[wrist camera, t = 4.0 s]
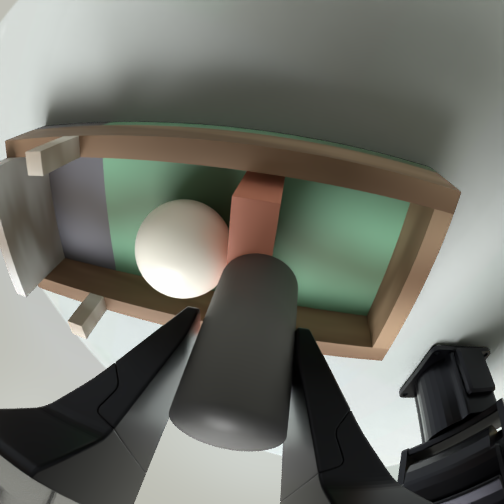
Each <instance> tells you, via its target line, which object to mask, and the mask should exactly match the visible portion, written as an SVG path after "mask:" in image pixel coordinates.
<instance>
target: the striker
mask: <svg viewBox="0 0 504 504" xmlns="http://www.w3.org/2000/svg"><path fill="white" fill-rule="evenodd" d="M284 180H285V177H284V176H278V175H271V174H265V173H258V172H251V171H247V172H246V173H245V175H244V177H243V178H242V180H241V182H240V183H239V185H238V187H237V188H236V190H235V192H234V194H233V195H232V201H231V214H230V226H229V240H228V253H227V265H226V267H225V268H224V270H223V272H222V274H221V277H220V279H219V282H218V284H217V287H216V289H215V292H214V294H213V297H212V300H211V302H210V305H209V307H208V310H207V312H206V315H205V317H204V320H203V323H202V325H201V328H200V330H199V333H198V335H197V338H196V341H195V343H194V346H193V348H192V351H191V354H190V356H189V359H188V362H187V364H186V367H185V370H184V372H183V375H182V377H181V380H180V383H179V385H178V388H177V391H176V393H175V396H174V399H173V402H172V404H171V407H170V410H169V417H170V420H171V421H172V422H173V424H174V425H175V426H176V427H177V428H178V429H179V430H181V431H182V432H184V433H185V434H187V435H189V436H190V437H192V438H194V439H196V440H198V441H201V442H203V443H206V444H209V445H212V446H215V447H219V448H224V449H229V450H236V451H262V450H268V449H272V448H275V447H277V446H279V445H281V444H282V443H283V442H284V441H285V440H286V438H287V430H288V420H289V410H290V399H291V388H292V376H293V361H294V347H295V331H296V318H297V299H298V283H297V279H296V276H295V274H294V273H293V271H292V270H291V268H290V267H289V266H288V265H286V264H285V263H284V262H283V261H281V260H279V259H277V258H275V257H273V256H272V255H273V249H274V243H275V237H276V231H277V225H278V219H279V212H280V206H281V200H282V193H283V187H284Z"/></svg>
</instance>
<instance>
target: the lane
mask: <svg viewBox="0 0 504 504" xmlns="http://www.w3.org/2000/svg"><path fill="white" fill-rule="evenodd" d="M5 144H6V153H7V158H6V159H4V160H2V161H0V248H1V251H2V255H3V257H4V260H5V263H6V266H7V269H8V272H9V274H10V277H11V280H12V282H13V285H14V287H15V290H16V292H17V294H20V295H22V296H25V297H27V296H28V295H29V294H30V293H31V292H32V291H33V290H34V289H35V287H36V286H37V285H38V286H39V287H40V288H42V289H45V290H48V291H51V292H54V293H57V294H60V295H63V296H65V297H68V298H72V299H75V300H78V301H81V302H82V303H81V305H80V306H79V307H78V308H77V310H76V311H75V312H74V313H73V315H72V316H71V317H70V319H69V320H68V323H69V326H70V328H71V330H72V333H73V334H75V335H77V336H80V337H83V338H85V339H87V337H88V336H89V334H90V333H91V332H92V330H93V329H94V327H95V326H96V324H97V323H98V321H99V320H100V319H101V317H102V316H103V314H104V313H105V311H106V310H110V311H114V312H117V313H120V314H124V315H128V316H131V317H135V318H139V319H142V320H146V321H150V322H154V323H158V324H162V325H164V324H166V323H167V322H168V321H169V320H171V319H172V318H173V317H175V316H176V315H177V314H178V313H180V312H181V311H182V310H184V309H185V308H186V307H188V306H190V307H195V308H199V309H200V328H201V325H202V323H203V320H204V317H205V315H206V312H207V310H208V307H209V305H210V302H211V300H212V297H213V294H214V292H215V289H216V287H217V286H216V287H215V288H213V289H212V290H210V291H209V292H207V293H205V294H203V295H201V296H197V297H193V298H184V299H181V298H174V297H170V296H167V295H165V294H162V293H160V292H159V291H157V290H155V289H154V288H153V287H152V286H151V285H150V284H149V283H148V282H147V281H146V280H145V279H144V277H143V276H142V274H141V272H140V270H139V268H138V266H137V262H136V258H135V240H136V236H137V232H138V230H139V228H140V226H141V224H142V222H143V221H144V219H145V218H146V217H147V216H148V214H149V213H151V212H152V211H153V210H154V209H156V208H157V207H159V206H160V205H162V204H164V203H166V202H170V201H173V200H179V199H188V200H195V201H198V202H201V203H204V204H206V205H207V206H209V207H211V208H212V209H213V210H215V211H216V212H217V213H218V214H219V215H220V216H221V217H222V218H223V220H224V221H225V223H226V225H227V227H228V229H229V226H230V214H231V201H232V195H233V194H234V192H235V190H236V188H237V187H238V185H239V183H240V182H241V180H242V178H243V177H244V175H245V173H246V172H247V171H251V172H258V173H265V174H271V175H278V176H284V177H285V180H284V187H283V193H282V200H281V206H280V212H279V219H278V225H277V231H276V237H275V243H274V249H273V255H272V256H273V257H275V258H277V259H279V260H281V261H283V262H284V263H285V264H286V265H288V266H289V267H290V268H291V270H292V271H293V273H294V274H295V276H296V279H297V283H298V299H297V318H296V329H297V328H298V327H301V328H307V329H309V330H310V331H311V333H312V335H313V337H314V339H315V341H316V342H317V344H318V346H319V348H320V350H321V352H322V354H323V355H331V356H339V357H348V358H358V359H369V360H381V361H382V360H383V358H384V356H385V355H386V353H387V351H388V350H389V348H390V347H391V345H392V343H393V341H394V340H395V338H396V336H397V335H398V333H399V331H400V329H401V328H402V326H403V324H404V322H405V320H406V319H407V317H408V315H409V313H410V311H411V309H412V307H413V305H414V303H415V302H416V300H417V298H418V296H419V294H420V292H421V290H422V288H423V285H424V283H425V281H426V279H427V277H428V275H429V273H430V271H431V268H432V266H433V264H434V262H435V259H436V257H437V255H438V253H439V250H440V248H441V245H442V243H443V240H444V238H445V236H446V233H447V230H448V228H449V225H450V223H451V220H452V217H453V214H454V212H455V209H456V206H457V203H458V200H459V197H460V194H461V192H460V191H459V190H458V189H457V188H456V187H454V186H453V185H452V184H451V183H450V182H448V181H447V180H446V179H445V178H443V177H442V176H441V175H439V174H438V173H437V172H436V171H434V170H433V169H432V168H430V167H428V166H424V165H421V164H418V163H414V162H411V161H407V160H404V159H400V158H397V157H393V156H389V155H385V154H381V153H377V152H373V151H369V150H365V149H361V148H357V147H352V146H348V145H343V144H338V143H333V142H328V141H323V140H318V139H313V138H307V137H301V136H295V135H289V134H282V133H276V132H269V131H261V130H253V129H245V128H236V127H226V126H215V125H202V124H187V123H165V122H97V123H77V124H62V125H51V126H44V127H41V128H38V129H35V130H32V131H29V132H27V133H24V134H21V135H19V136H16V137H14V138H11V139H9V140H6V141H5Z"/></svg>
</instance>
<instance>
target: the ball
mask: <svg viewBox="0 0 504 504" xmlns="http://www.w3.org/2000/svg"><path fill="white" fill-rule="evenodd" d="M228 240H229V229H228V227H227V225H226V223H225V221H224V220H223V218H222V217H221V216H220V215H219V214H218V213H217V212H216V211H215V210H213V209H212V208H211V207H209V206H207V205H206V204H204V203H201V202H198V201H195V200H188V199H179V200H173V201H170V202H166V203H164V204H162V205H160V206H159V207H157V208H156V209H154V210H153V211H152V212H151V213H149V214H148V216H147V217H146V218H145V219H144V221H143V222H142V224H141V226H140V228H139V230H138V232H137V236H136V240H135V258H136V262H137V266H138V268H139V270H140V272H141V274H142V276H143V277H144V279H145V280H146V281H147V282H148V283H149V284H150V285H151V286H152V287H153V288H154V289H155V290H157V291H159V292H160V293H162V294H165V295H167V296H170V297H174V298H181V299H184V298H193V297H197V296H201V295H203V294H205V293H207V292H209V291H210V290H212V289H213V288H215V287H216V286H217V284H218V282H219V279H220V277H221V274H222V272H223V270H224V268H225V267H226V265H227V253H228Z"/></svg>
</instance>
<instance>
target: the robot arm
mask: <svg viewBox="0 0 504 504" xmlns="http://www.w3.org/2000/svg"><path fill="white" fill-rule="evenodd" d="M199 330H200V309H199V308H195V307H190V306H188V307H186V308H185V309H184V310H182V311H181V312H180V313H178V314H177V315H176V316H175V317H173V318H172V319H171V320H169V321H168V322H167V323H166V324H164V325H163V326H162V327H160V328H159V329H158V330H156V331H155V332H154V333H153V334H151V335H150V336H149V337H147V338H146V339H145V340H144V341H142V342H141V343H140V344H138V345H137V346H136V347H134V348H133V349H132V350H131V351H129V352H128V353H127V354H125V355H124V356H123V357H122V358H120V359H119V360H118V361H116V364H115V363H114V364H112V365H111V366H110V367H108V368H107V369H106V370H105V371H103V372H102V373H100V374H99V375H97V376H96V377H95V378H93V379H92V380H90V381H88V382H87V383H85V384H84V385H82V386H80V387H79V388H77V389H75V390H74V391H72V392H70V393H69V394H67V395H65V396H63V397H62V398H60V399H58V400H57V401H55V402H53V403H51V404H48V405H46V406H42V407H38V408H19V409H18V408H17V409H0V504H134V502H135V500H136V497H137V495H138V492H139V490H140V487H141V485H142V482H143V480H144V477H145V475H146V472H147V470H148V467H149V465H150V462H151V460H152V458H153V455H154V453H155V450H156V448H157V445H158V443H159V441H160V438H161V436H162V433H163V431H164V428H165V426H166V424H167V421H168V419H169V410H170V407H171V404H172V402H173V399H174V396H175V393H176V391H177V388H178V385H179V383H180V380H181V377H182V375H183V372H184V370H185V367H186V364H187V362H188V359H189V356H190V354H191V351H192V348H193V346H194V343H195V341H196V338H197V335H198V333H199ZM489 354H490V350H489V348H487V347H459V346H440V345H438V346H434V347H433V348H432V349H431V350H430V351H429V352H428V354H427V355H426V357H425V358H424V360H423V361H422V362H421V364H420V365H419V366H418V368H417V369H416V370H415V372H414V373H413V374H412V376H411V377H410V378H409V380H408V381H407V382H406V383H405V385H404V386H403V387H402V388H401V390H400V391H399V394H400V397H403V398H415V402H416V407H417V413H418V419H419V425H420V431H421V437H422V444H420V445H418V446H415V447H413V448H411V449H406V450H403V451H402V453H401V461H400V468H399V475H398V482H396V481H395V480H394V478H392V476H391V475H390V473H389V472H388V471H387V469H386V468H385V466H384V465H383V463H382V462H381V460H380V459H379V457H378V456H377V454H376V453H375V451H374V450H373V448H372V447H371V445H370V444H369V442H368V440H367V439H366V437H365V436H364V434H363V432H362V430H361V429H360V427H359V425H358V423H357V421H356V419H355V417H354V415H353V413H352V411H350V407H349V405H348V403H347V401H346V399H345V397H344V395H343V393H342V392H341V390H340V388H339V386H338V384H337V382H336V380H335V378H334V376H333V374H332V372H331V370H330V368H329V366H328V364H327V362H326V360H325V358H324V356H323V354H322V352H321V350H320V348H319V346H318V344H317V342H316V341H315V339H314V337H313V335H312V333H311V331H310V330H309V329H307V328H301V327H298V328H297V329H296V331H295V347H294V361H293V376H292V388H291V399H290V410H289V420H288V430H287V438H286V440H285V441H284V442H283V458H282V479H281V498H280V501H281V502H280V504H504V400H503V398H501V399H499V400H498V401H496V398H495V395H494V393H493V391H494V390H495V384H494V382H493V379H492V376H491V374H490V371H489V369H488V366H487V364H486V361H485V360H486V358H487V357H488V356H489ZM499 427H502V430H500V431H498V432H497V430H496V429H498V428H499Z"/></svg>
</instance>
